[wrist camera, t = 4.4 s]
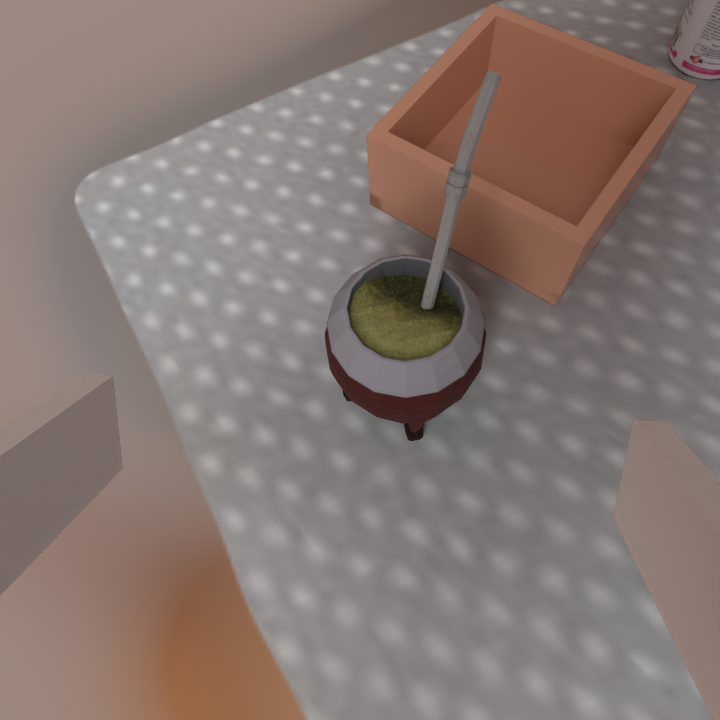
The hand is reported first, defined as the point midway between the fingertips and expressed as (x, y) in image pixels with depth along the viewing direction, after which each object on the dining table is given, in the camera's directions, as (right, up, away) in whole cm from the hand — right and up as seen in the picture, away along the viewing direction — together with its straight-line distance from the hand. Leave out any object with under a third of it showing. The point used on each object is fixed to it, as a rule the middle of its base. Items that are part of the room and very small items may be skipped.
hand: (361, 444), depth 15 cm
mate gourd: (+2, +1, +17) cm, 17 cm away
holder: (+9, +13, +21) cm, 27 cm away
